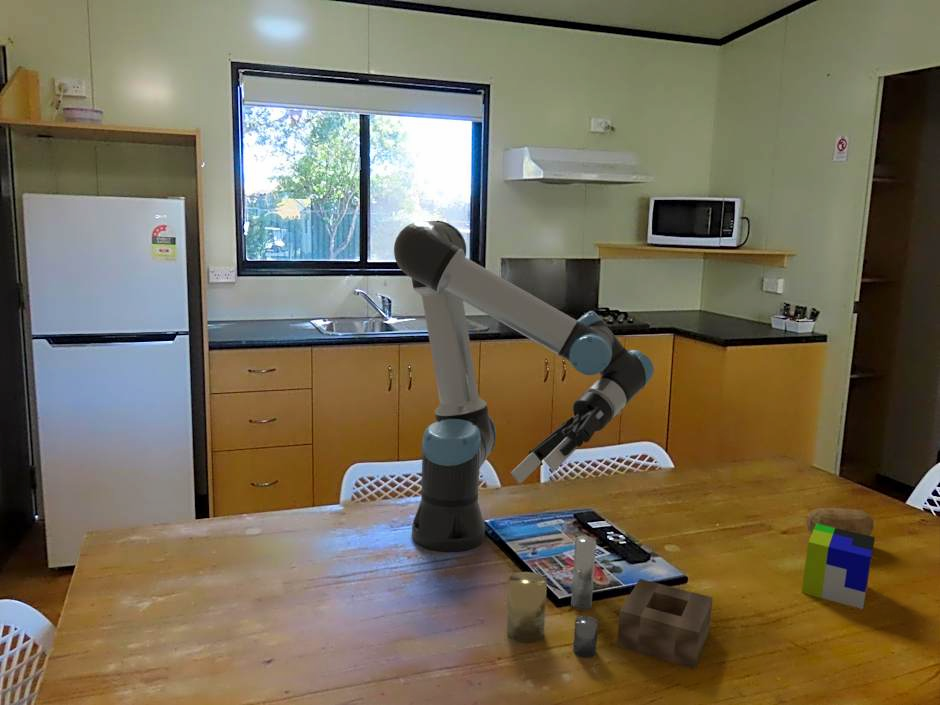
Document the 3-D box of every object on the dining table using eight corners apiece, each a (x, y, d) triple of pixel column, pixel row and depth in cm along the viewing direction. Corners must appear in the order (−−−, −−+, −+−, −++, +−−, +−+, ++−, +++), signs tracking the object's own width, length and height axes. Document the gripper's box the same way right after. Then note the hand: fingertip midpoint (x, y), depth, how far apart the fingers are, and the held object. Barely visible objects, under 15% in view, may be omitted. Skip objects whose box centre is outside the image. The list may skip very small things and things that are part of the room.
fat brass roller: (500, 636, 118) (503, 584, 117) (515, 618, 124) (518, 568, 122) (535, 647, 116) (538, 594, 114) (549, 629, 121) (552, 577, 119)
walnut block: (617, 645, 117) (619, 610, 116) (637, 611, 127) (639, 578, 126) (694, 669, 112) (698, 632, 110) (709, 631, 122) (712, 597, 121)
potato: (883, 554, 153) (889, 518, 152) (820, 556, 151) (825, 519, 150) (854, 534, 163) (859, 499, 161) (794, 535, 161) (798, 500, 159)
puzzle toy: (862, 609, 131) (870, 557, 129) (801, 592, 136) (808, 541, 134) (867, 586, 139) (874, 537, 138) (809, 571, 145) (816, 523, 143)
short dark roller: (569, 653, 114) (572, 623, 114) (577, 642, 118) (579, 613, 117) (591, 660, 113) (594, 630, 112) (598, 648, 116) (601, 619, 115)
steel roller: (568, 606, 128) (572, 541, 126) (574, 597, 131) (579, 534, 129) (587, 612, 127) (592, 546, 124) (594, 602, 130) (598, 538, 127)
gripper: (647, 404, 138) (578, 476, 127) (578, 434, 160) (514, 497, 149) (621, 372, 138) (551, 441, 127) (556, 406, 160) (491, 468, 149)
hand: (531, 472), depth 138 cm, fingers open, 13 cm apart
